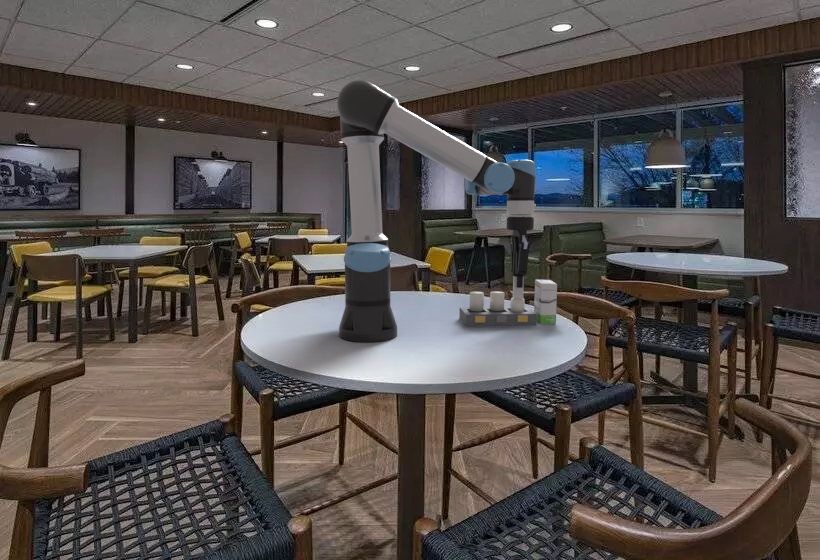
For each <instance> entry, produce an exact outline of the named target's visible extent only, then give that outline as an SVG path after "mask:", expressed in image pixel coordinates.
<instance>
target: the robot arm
mask: <svg viewBox="0 0 820 560" xmlns="http://www.w3.org/2000/svg"><path fill="white" fill-rule="evenodd" d="M336 106H337V111H338V114H339V119H340V120H339V122H340V137H341V139H340V140H341V141H342V143H344V144H345V146H346V147H347V163H348V164H347V166H348V184H349V185H348V186H349V187H348V188H349V200H350V201H349V204H350V205H349V207H350V224H351V225H350V226H351V228H350V229H351V235H350V236H349V237H348V239H346V248H345V250H344V255H343V262H344V287H345V289H344V290H345V291H344V296H345V297H344V298H345V299H344V302H345V306H344V309H343V314H342V316H341V320H340V323H339V327H338V337H339V338H340V339H342V340H346V341H351V342H360V343H372V342H373V343H375V342H383V341H388V340H391V339H392V340H393V339H394V338H396V337H397V336H398V325H397V322H396V321H397V320H396V318H395V316H394V312H393V309H392V307H391V261H392V256H391V251H390V248H389V238H388V237H387V236H386V235H385V234H384V233H383V214H382V212H383V211H382V192H381V190H382V189H381V168H380V164H381V163H380V145H381V144H382V142H383V141H384V140H385V135H388V137H391V138H392V139H394V140H395V141H398V142H400V143H402V145H405V146H407V147H409V148H410V149H413V150H414V151H415V152H418V154H419V153H420V154H421V155H422V156H424V157H426V158H428V159H430V160H431V161H433V162H435V163H436V164H437V163H438V165H441V166H443V167H444V168H446V169H448V170H450V171H451V172H453V173H455V174H457V175H459V176H460V177H462V178H464V190H465V193H466V194H467V195H471V196H472V195H473V196H495V195H497V196H498V195H502V196H505V195H507V196H506V197H507V198H506V199H507V200H506V215H508V216H507V217H506V230H508V231H512V236H511V237H510V239H509V248H510V272H511V273H512V278H513V279H512V298H514V299H524V288H525V285H524V284H525V283H524V282H525V276H527V274H528V266H529V265H528V263H529V256H530V255H529V254H530V247H531V242H530V241H529V236H528V233H527V232H528V231H532V230H534V225H535V223H534V220H535V218H534V217H533V215H534V214H535V208H536V207H537V205H536V203H535V192H536V191H535V189H536V176H537V175H536V163H535V162H534V161H533V160H531V159H512V160H509V161H508V163H505V162H502V161H496V160H495V159H493V158H491V157H489V156H487V155H486V154H484V153H483V152H481V151H479V150H477V149H476V148H474V147H472V146H470V145H469V144H467V143H466V142H464V141H462V140H460V139H459V138H457V137H455V136H453V135H451V134H450V133H448V132H446V131H445V130H442V129H441V128H439V127H438V126H436V125H435V124H432V123H431V122H429V121H427V120H425V119H424V118H422V117H420V116H419V115H417V114H415V113H414V112H411V111H410V110H408V109H406V108H405V107H403V106H402V105H400V103H399V100H398V98H396V97H395V96H392V95H391V94H390V93H388V92H386V91H385V90H383V89H382V88H380V87H379V86H377V85H375V84H373V83H372V82H371V81H367V80H363V79H356V80H352V81H350V82H348V83H347V84H345V85H344V86H342V89H340V91H339V93H338V96H337V101H336ZM384 134H385V135H384Z"/></svg>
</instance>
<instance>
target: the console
mask: <svg viewBox="0 0 820 560" xmlns="http://www.w3.org/2000/svg"><path fill="white" fill-rule="evenodd" d="M469 308H470V306H459V315H458V316H459V320H460V322H461V323H462V325H463V326H464V327H466V328H476V327H478V328H483V327H484V328H485V327H489V328H490V327H491V328H492V327H493V328H496V326H497V327H499V326H500V327H537V320H536V319H537V314H536V313H535V312H534V310H532V309H530V308H529V307H527V306H526V305H525V306H524V312H511V311H510V306H509V305H508V306H504V310H503V311H492V310H490V306H483V311H471V310H469Z"/></svg>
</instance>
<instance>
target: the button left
mask: <svg viewBox="0 0 820 560" xmlns="http://www.w3.org/2000/svg"><path fill="white" fill-rule="evenodd" d="M484 294H485V293H484V292H483V291H470V292H469V307H470V308H469V310H471V311H483V307H485V306H484V302H485V301H484V300H485V299H484V298H485V295H484Z"/></svg>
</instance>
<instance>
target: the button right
mask: <svg viewBox="0 0 820 560" xmlns="http://www.w3.org/2000/svg"><path fill="white" fill-rule="evenodd" d="M525 301H526V300H525V298H523V299H514V298H513V297H511V298H510V311H511V312H524V306H526V305H525Z"/></svg>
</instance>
